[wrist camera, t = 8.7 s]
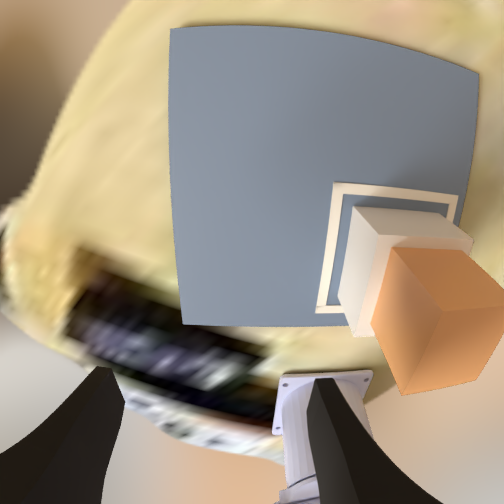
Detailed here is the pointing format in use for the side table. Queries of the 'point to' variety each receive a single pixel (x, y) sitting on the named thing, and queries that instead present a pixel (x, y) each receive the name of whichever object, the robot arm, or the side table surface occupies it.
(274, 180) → the board
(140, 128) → the side table surface
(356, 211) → the base block
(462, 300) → the orange block
